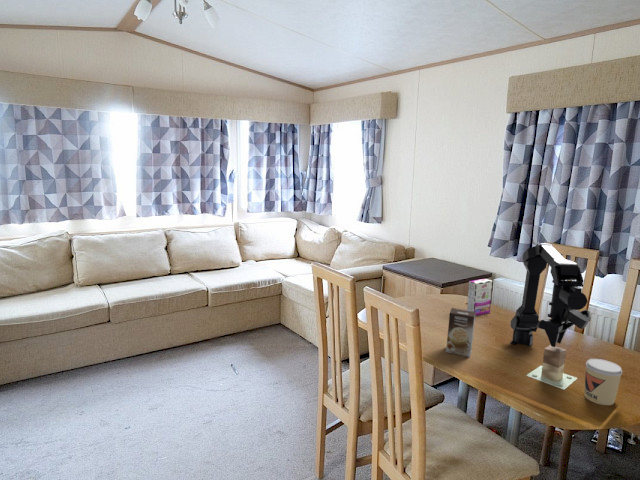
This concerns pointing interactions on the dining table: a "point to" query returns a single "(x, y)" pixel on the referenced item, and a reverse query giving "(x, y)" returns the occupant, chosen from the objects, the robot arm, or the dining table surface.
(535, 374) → the board
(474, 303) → the candy bar box
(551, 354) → the walnut block
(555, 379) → the oak block
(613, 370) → the cream tub with lid
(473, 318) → the coffee box
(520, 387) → the dining table surface
